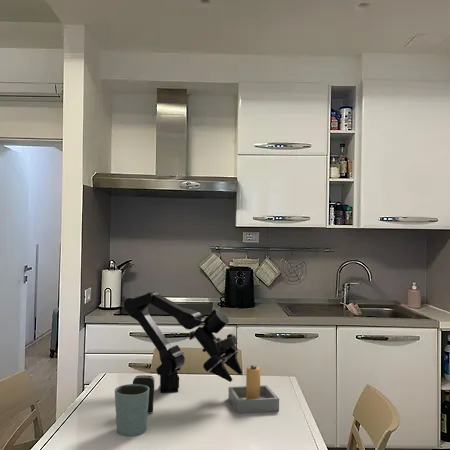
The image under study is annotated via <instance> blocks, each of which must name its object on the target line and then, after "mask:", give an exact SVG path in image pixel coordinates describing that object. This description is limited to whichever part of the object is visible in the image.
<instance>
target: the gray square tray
mask: <svg viewBox="0 0 450 450" xmlns="http://www.w3.org/2000/svg"><path fill="white" fill-rule="evenodd" d="M228 400H229V402H230V403H231V404H232V406H233V408H234V410H235V411H236V413H237V414H243V413H244V414H247V413H260V412H261V413H264V412H278V411H279V412H280V398H279V396H278V395H277V394H275V392H274V391H273V390H272V389H271V388H270V387H269V386H268V385H267V384H263V385H261V384H260V399H246V385H243V386H242V385H241V386H240V385H239V386H229V387H228Z"/></svg>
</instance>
